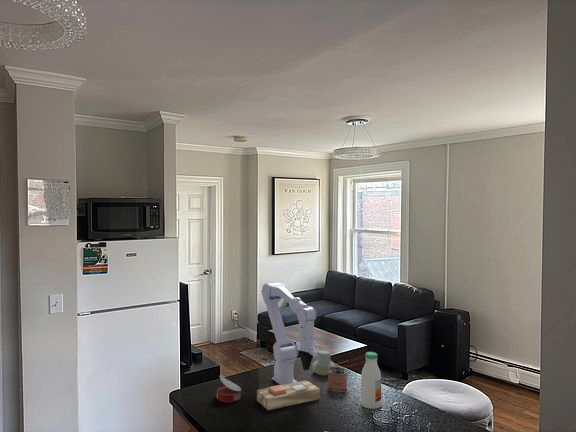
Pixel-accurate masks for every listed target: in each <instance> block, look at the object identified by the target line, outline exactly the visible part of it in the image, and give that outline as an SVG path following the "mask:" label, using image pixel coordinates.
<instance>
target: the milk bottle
mask: <svg viewBox="0 0 576 432" xmlns="http://www.w3.org/2000/svg"><path fill="white" fill-rule="evenodd" d="M360 376H361V377H360V378H361V379H360V404H361V406H362V407H363V408H366V409H369V410H377V409H380V408H381V406H382V375H381V370H380V368H379V365H378V353H376V352H374V351H367V352H365V362H364V366H363V367H362V370H361V375H360Z"/></svg>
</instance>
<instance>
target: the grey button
mask: <svg viewBox="0 0 576 432" xmlns="http://www.w3.org/2000/svg"><path fill="white" fill-rule="evenodd" d="M291 387H292V388H293V389H295V390H296V391H300V390H304V389H308V388H306V387H305V386H303V385H302V384H300V385H295V386H291Z"/></svg>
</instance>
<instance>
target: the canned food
mask: <svg viewBox="0 0 576 432" xmlns="http://www.w3.org/2000/svg"><path fill="white" fill-rule="evenodd" d="M219 380H220V382H221V383H222V384H223V385H222V386H219V387H218V388H217V389H216V400H218V402H221V403H233V402H237V401H239V400H241V399H242V388H241V387H240V386H239V385H238V384H237V383H234V382H232V381H231V380H229V379H227V378H225V377H224V376H223V375H222V374H220V375H219Z"/></svg>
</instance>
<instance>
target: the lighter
mask: <svg viewBox="0 0 576 432" xmlns="http://www.w3.org/2000/svg"><path fill="white" fill-rule="evenodd" d="M335 366H336V365H335ZM335 366H330V370H333V371H328V375H327V377H328V378H327V391H328V390H329V392H335V393H337V392H339V393H345V392H347V391H348V389H347V380H348V379H347V377H348V372H347V371H345V367H344V366H341V365H337V366H336V367H335ZM334 370H335V371H334Z"/></svg>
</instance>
